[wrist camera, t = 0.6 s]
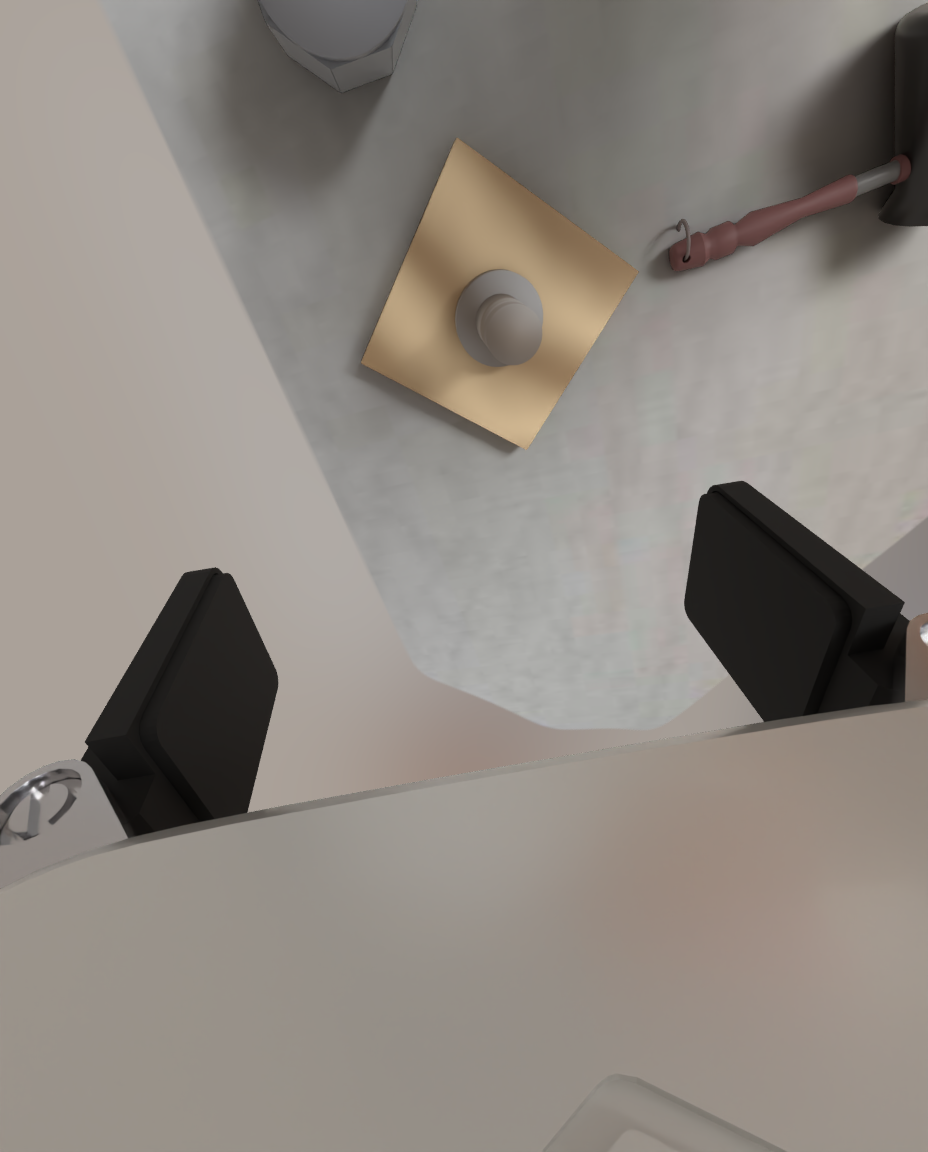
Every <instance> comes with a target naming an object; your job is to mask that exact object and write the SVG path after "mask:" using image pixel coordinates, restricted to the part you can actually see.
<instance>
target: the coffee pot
mask: <svg viewBox="0 0 928 1152" xmlns="http://www.w3.org/2000/svg"><path fill="white" fill-rule="evenodd" d="M889 183H891V184H893V185H895V189H894V191H893V193H892V194H891V196H890V197H889V199H888V200H887V202H886V203H885V205H884V206H883V208H882V209H881V211H880V212H879V214H878V216H879V219H880V220H881V221H883V222H884V223H888V224H892V225H899V226H928V3H926V4H923V5H921V6H920V7H918V8H916V9H914V10H912V11H911V12H909V13H907V14H906V15H905V16H904V17H903V18H902V20H901V21H900V22H899V24H898V25H897V29H896V33H895V157H893V158H892V159H891V160H890V162H889V163H886V164H884V165H881V166H879V167H876V168H874V169H871V170H869V171H867V172H864V173H862V174H859V175H857V176H853V175H847V176H845V177H843V178H840V179H838V180H836V181H834V182H832V183H830V184H828V185H826V186H824V187H822V188H820V189H818V190H816V191H814V192H812V193H810V194H808V195H806V196H804V197H802V198H799V199H796V200H792V201H788V202H785V203H781V204H777V205H774V206H770V207H766V208H763V209H759V210H755V211H752V212H749V213H748V214H747V215H746V216H744V217H743V218H742V219H741V220H740V221H738V222H737V223H736V224H735V225H734V224H733V223H731V222H730V221H727V222H725V223H722V224H720V225H717V226H715V227H712V228H710V229H709V231H708V232H707V233H706V234H704V233H700V232H696V233H695V234H693V235H691V236H690V230H689V226H688V223H687V221H686V220H685V219H681V220H680V221H679V223H678V226H677V231H678V232H679V231H680V228H681V225H682V223H683V225H684V227H685V230H686V237H687V238H685V239H683V240H681V241H679V242H677V243H676V244H674V245H673V246H672V247H671V248H670V250H669V259H670V264H671V267H672V269H673V270H674V271H682V270H687V269H692V268H696V267H701V266H703V265H705V263H706V262H707V261H708V260H709V259H713V260H717V259H720V258H722V257H725V256H727V255H730V254H732V253H733V252H734V251H735V249H736V247H737V246H755V245H756V244H758V243H760V242H761V241H763V240H765V239H767V238H768V237H770V236H772V235H773V234H775V233H777V232H779V231H780V230H782V229H784V228H785V227H787V226H789V225H791V224H792V223H794V222H796V221H797V220H799V219H801V218H803V217H806V216H809V215H813V214H816V213H819V212H822V211H825V210H829V209H832V208H835V207H838V206H842V205H845V204H848V203H850V202H852V201H853V200H854V198H855V197H856V196H858V195H861V194H863V193H866V192H868V191H871V190H873V189H876V188H879V187H881V186H884V185H886V184H889Z"/></svg>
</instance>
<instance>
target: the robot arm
mask: <svg viewBox="0 0 928 1152" xmlns="http://www.w3.org/2000/svg"><path fill="white" fill-rule="evenodd" d="M684 605H685V611H686V614H687V616H688V618H689V620H690V621H691V622H692V624H693V625H694V626H695V628H696V629H697V631H698V632H699V633H700V635H701V636H702V637H703V639H704V640H705V641H706V643H707V644H708V646H709V647H710V648H711V650H712V651H713V652H714V654H715V655H716V656H717V658H718V659H719V661H720V662H721V663H722V665H723V666H724V667H725V669H726V670H727V672H728V673H729V674H730V676H731V677H732V678H733V680H734V681H735V682H736V684H737V685H738V686H739V688H740V689H741V691H742V692H743V693H744V695H745V696H746V697H747V699H748V700H749V701H750V703H751V704H752V706H753V707H754V708H755V710H756V711H757V713H758V714H759V715H760V717H761V718H762V719H763V721H764V722H762V723H756V724H750V725H744V726H738V727H732V728H726V729H720V730H714V731H709V732H702V733H697V734H691V735H685V736H679V737H673V738H667V739H661V740H655V741H649V742H643V743H638V744H631V745H625V746H620V747H614V748H608V749H602V750H596V751H591V752H585V753H579V754H573V755H567V756H562V757H556V758H550V759H544V760H538V761H533V762H527V763H521V764H515V765H510V766H504V767H498V768H493V769H487V770H481V771H475V772H470V773H464V774H458V775H453V776H447V777H442V778H436V779H430V780H424V781H419V782H413V783H408V784H402V785H396V786H391V787H385V788H380V789H375V790H369V791H363V792H357V793H352V794H346V795H341V796H335V797H330V798H324V799H318V800H313V801H308V802H302V803H296V804H290V805H285V806H280V807H275V808H270V809H265V810H260V811H255V812H249V813H247V812H248V807H249V803H250V799H251V795H252V791H253V787H254V783H255V779H256V775H257V771H258V767H259V762H260V758H261V754H262V750H263V746H264V742H265V738H266V734H267V730H268V726H269V722H270V718H271V714H272V710H273V705H274V701H275V697H276V693H277V689H278V676H277V672H276V669H275V667H274V665H273V662H272V660H271V658H270V656H269V654H268V652H267V650H266V648H265V645H264V643H263V641H262V639H261V637H260V634H259V632H258V630H257V628H256V626H255V624H254V622H253V619H252V618H251V615H250V613H249V611H248V609H247V607H246V605H245V602H244V600H243V598H242V596H241V594H240V591H239V589H238V587H237V585H236V583H235V581H234V579H233V577H232V576H231V575H230V574H229V573H224V574H223V573H222V572H221V571H220V570H219V569H218V568H216V567H215V568H209V569H203V570H198V571H191V572H187V573H184V574H183V576H182V577H181V579H180V580H179V582H178V584H177V586H176V587H175V589H174V591H173V592H172V594H171V596H170V598H169V599H168V601H167V603H166V604H165V606H164V608H163V610H162V611H161V613H160V615H159V616H158V618H157V620H156V621H155V623H154V625H153V626H152V628H151V630H150V632H149V633H148V635H147V637H146V638H145V640H144V642H143V643H142V645H141V647H140V649H139V650H138V652H137V654H136V655H135V657H134V659H133V661H132V662H131V664H130V666H129V667H128V669H127V671H126V673H125V674H124V676H123V678H122V679H121V681H120V683H119V685H118V686H117V688H116V689H115V691H114V693H113V695H112V696H111V698H110V700H109V701H108V703H107V705H106V706H105V708H104V710H103V712H102V713H101V715H100V717H99V719H98V720H97V722H96V724H95V725H94V727H93V729H92V731H91V732H90V734H89V735H88V737H87V739H86V741H85V743H86V744H87V745H88V749H87V751H86V752H85V754H84V756H83V757H82V759H81V761H79V760H75V759H74V760H64V761H58V762H55V763H52V764H49V765H46V766H43V767H41V768H39V769H37V770H35V771H33V772H31V773H29V774H27V775H25V776H24V777H23V778H21V779H20V780H18V781H17V782H16V783H14V784H13V785H12V786H10V787H9V788H7V790H5V791H4V792H3V793H2V794H1V795H0V1152H928V613H926V614H921V615H918V616H916V617H915V618H913V619H912V620H911V621H909V620H908V619H906V618H905V617H904V616H903V615H901V614H900V612H901V609H902V607H903V605H904V601H902V600H901V599H900V598H898V597H897V596H896V595H894V594H893V593H892V592H890V591H889V590H888V589H887V588H885V587H884V586H882V585H881V584H880V583H878V582H877V581H876V580H875V579H873V578H872V577H871V576H869V575H868V574H867V573H865V572H864V571H863V570H861V569H860V568H859V567H858V566H856V565H855V564H854V563H852V562H851V561H850V560H848V559H847V558H846V557H844V556H843V555H842V554H840V553H839V552H838V551H836V550H835V549H834V548H832V547H831V546H830V545H828V544H827V543H826V542H824V541H823V540H822V539H821V538H819V537H818V536H817V535H815V534H814V533H813V532H811V531H810V530H809V529H807V528H806V527H805V526H803V525H802V524H801V523H799V522H798V521H797V520H795V519H794V518H793V517H791V516H790V515H789V514H788V513H786V512H785V511H784V510H782V509H781V508H780V507H778V506H777V505H776V504H774V503H773V502H772V501H770V500H769V499H768V498H766V497H765V496H764V495H762V494H761V493H760V492H758V491H757V490H756V489H754V488H753V487H752V486H751V485H749V484H748V483H746V482H744V481H737V482H731V483H725V484H719V485H713V486H712V487H710V488H709V490H708V492H707V494H704V495H702V496H701V498H700V500H699V505H698V512H697V519H696V526H695V532H694V539H693V546H692V553H691V559H690V566H689V573H688V580H687V586H686V593H685V600H684Z"/></svg>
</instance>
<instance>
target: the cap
mask: <svg viewBox="0 0 928 1152" xmlns="http://www.w3.org/2000/svg"><path fill="white" fill-rule="evenodd" d="M258 3H259V6H260V9H261V11H262V14H263V17H264V20H265V22H266V24H267V25H268V27H269V28H270V30H271V31H272V33H273V34H274V36H275V37H276V39H277V40H278V42H279V43H280V45H281V46H282V48H283V49H284V51H285V52H286V54H287V55H288V56H289V57H291V58H292V59H294V60H295V61H296V62H298V63H299V64H301V65H302V66H304V67H305V68H306V69H308V70H309V71H311V72H312V73H313V74H315V75H316V76H318V77H319V78H320V79H322V80H323V81H325V82H326V83H327V84H329V85H330V86H332V87H333V88H335V89H336V90H337V91H339V92H341V93H342V92H345V91H347V90H350V89H353V88H356V87H358V86H361V85H364V84H366V83H369V82H372V81H375V80H377V79H380V78H383V77H385V76H388V75H391V74H392V73H393V71H394V68H395V66H396V63H397V60H398V57H399V55H400V52H401V49H402V46H403V43H404V41H405V38H406V35H407V32H408V29H409V27H410V24H411V21H412V18H413V16H414V13H415V10H416V7H417V0H258Z"/></svg>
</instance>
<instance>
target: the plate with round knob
mask: <svg viewBox="0 0 928 1152" xmlns="http://www.w3.org/2000/svg"><path fill="white" fill-rule="evenodd" d="M638 272H639V271H637V270H636V269H635V268H633V267H632V266H631V265H629V264H628V263H627V262H625V261H624V260H623V259H621V258H620V257H619V256H617V255H616V254H614V253H613V252H612V251H610V250H609V249H608V248H606V247H605V246H604V245H602V244H601V243H600V242H598V241H597V240H595V239H594V238H593V237H591V236H590V235H589V234H587V233H586V232H585V231H583V230H582V229H581V228H579V227H578V226H576V225H575V224H574V223H572V222H571V221H570V220H568V219H567V218H566V217H564V216H563V215H562V214H560V213H559V212H558V211H556V210H555V209H553V208H552V207H551V206H549V205H548V204H547V203H545V202H544V201H543V200H541V199H540V198H539V197H537V196H536V195H534V194H533V193H532V192H530V191H529V190H528V189H526V188H525V187H524V186H522V185H521V184H520V183H518V182H517V181H515V180H514V179H513V178H511V177H510V176H509V175H507V174H506V173H505V172H503V171H502V170H501V169H499V168H498V167H497V166H495V165H494V164H492V163H491V162H490V161H488V160H487V159H486V158H484V157H483V156H482V155H480V154H479V153H478V152H476V151H475V150H473V149H472V148H471V147H469V146H468V145H467V144H465V143H464V142H463V141H461V140H460V139H459V138H456V139H455V141H454V143H453V146H452V148H451V150H450V153H449V155H448V157H447V160H446V162H445V164H444V167H443V169H442V171H441V174H440V176H439V179H438V181H437V183H436V186H435V188H434V190H433V193H432V195H431V197H430V200H429V202H428V204H427V207H426V209H425V212H424V214H423V216H422V219H421V221H420V223H419V226H418V228H417V230H416V233H415V235H414V237H413V240H412V242H411V245H410V247H409V249H408V252H407V254H406V256H405V259H404V261H403V263H402V266H401V268H400V270H399V273H398V275H397V277H396V280H395V282H394V285H393V287H392V289H391V292H390V294H389V296H388V299H387V301H386V303H385V306H384V308H383V310H382V313H381V315H380V318H379V320H378V322H377V325H376V327H375V329H374V332H373V334H372V336H371V339H370V341H369V343H368V346H367V348H366V351H365V353H364V355H363V358H362V361H361V364H363V365H365V366H367V367H369V368H371V369H373V370H375V371H377V372H378V373H380V374H382V375H384V376H386V377H388V378H390V379H392V380H394V381H396V382H398V383H399V384H401V385H403V386H405V387H407V388H409V389H411V390H413V391H415V392H417V393H419V394H420V395H422V396H424V397H426V398H428V399H430V400H432V401H434V402H436V403H438V404H440V405H441V406H443V407H445V408H447V409H449V410H451V411H453V412H455V413H457V414H459V415H461V416H462V417H464V418H466V419H468V420H470V421H472V422H474V423H476V424H478V425H480V426H481V427H483V428H485V429H487V430H489V431H491V432H493V433H495V434H497V435H499V436H501V437H502V438H504V439H506V440H508V441H510V442H512V443H514V444H516V445H518V446H520V447H522V448H523V449H525V450H527V449H528V447H529V446H530V444H531V443H532V441H533V439H534V438H535V436H536V435H537V433H538V431H539V430H540V428H541V427H542V425H543V423H544V422H545V420H546V419H547V417H548V415H549V414H550V412H551V411H552V409H553V407H554V406H555V404H556V403H557V401H558V400H559V398H560V396H561V395H562V393H563V392H564V390H565V388H566V387H567V385H568V384H569V382H570V380H571V379H572V377H573V376H574V374H575V372H576V371H577V369H578V368H579V366H580V364H581V363H582V361H583V360H584V358H585V357H586V355H587V353H588V352H589V350H590V349H591V347H592V345H593V344H594V342H595V341H596V339H597V337H598V336H599V334H600V333H601V331H602V329H603V328H604V326H605V325H606V323H607V321H608V320H609V318H610V317H611V315H612V314H613V312H614V310H615V309H616V307H617V306H618V304H619V302H620V301H621V299H622V298H623V296H624V294H625V293H626V291H627V290H628V288H629V286H630V285H631V283H632V282H633V280H634V278H635V277H636V275H637V274H638Z"/></svg>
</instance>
